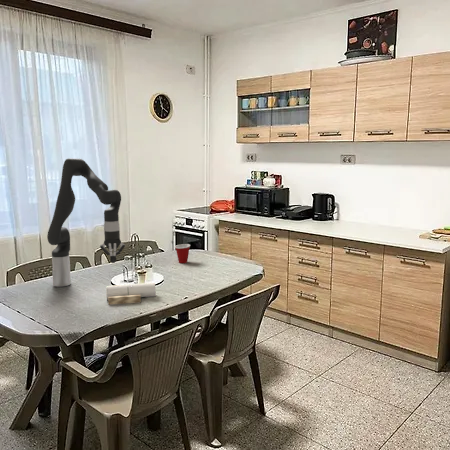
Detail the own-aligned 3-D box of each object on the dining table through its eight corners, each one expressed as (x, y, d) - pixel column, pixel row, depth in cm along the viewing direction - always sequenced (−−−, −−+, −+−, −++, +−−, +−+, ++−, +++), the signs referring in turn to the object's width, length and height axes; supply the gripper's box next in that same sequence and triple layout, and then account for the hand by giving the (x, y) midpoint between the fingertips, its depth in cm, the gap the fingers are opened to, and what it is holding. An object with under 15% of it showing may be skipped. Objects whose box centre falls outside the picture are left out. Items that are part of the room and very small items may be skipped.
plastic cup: (174, 260, 308) (173, 243, 306) (189, 260, 310) (189, 243, 308) (175, 264, 298) (175, 247, 296) (191, 264, 300) (191, 246, 297)
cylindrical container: (107, 293, 235) (154, 290, 241) (107, 302, 230) (155, 299, 235) (106, 283, 232) (154, 280, 237) (106, 292, 226) (155, 288, 231)
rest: (108, 304, 224) (108, 298, 223) (109, 295, 237) (109, 289, 236) (140, 302, 227) (140, 295, 227) (139, 293, 241) (139, 287, 240)
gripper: (125, 227, 229) (126, 260, 232) (98, 228, 226) (100, 261, 230) (125, 230, 222) (126, 263, 225) (97, 231, 219) (99, 265, 222)
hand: (113, 262), depth 227 cm, fingers closed
